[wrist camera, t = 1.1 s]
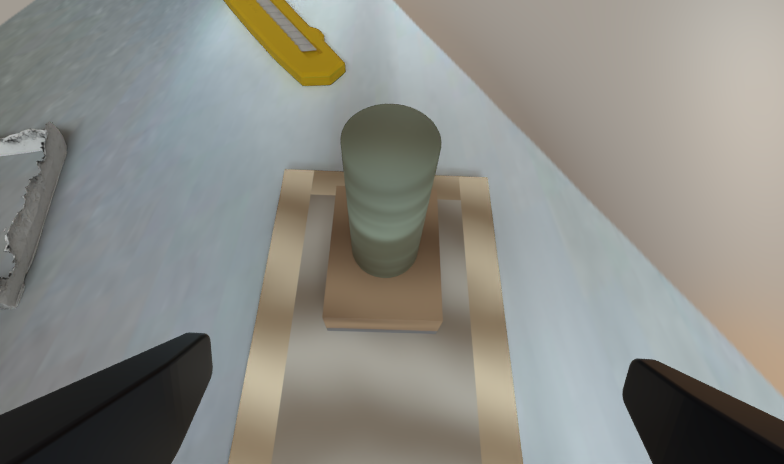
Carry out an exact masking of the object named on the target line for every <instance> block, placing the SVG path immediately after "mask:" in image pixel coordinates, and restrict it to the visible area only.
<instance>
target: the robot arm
mask: <svg viewBox="0 0 784 464" xmlns="http://www.w3.org/2000/svg"><path fill="white" fill-rule="evenodd" d="M212 369H213V366H212V354H211V342H210V338H209V336H208V335H207V334H205V333H185V334H183V335H181V336H179V337H176V338H174V339H172V340H170V341H167V342H165V343H163V344H160V345H158V346H156V347H154V348H151V349H149V350H147V351H145V352H142V353H140V354H138V355H136V356H133V357H131V358H129V359H126V360H124V361H122V362H120V363H117V364H115V365H113V366H111V367H108V368H106V369H104V370H102V371H99V372H97V373H95V374H92V375H90V376H88V377H86V378H83V379H81V380H79V381H77V382H74V383H72V384H70V385H67V386H65V387H63V388H61V389H58V390H56V391H54V392H52V393H49V394H47V395H45V396H43V397H40V398H38V399H36V400H33V401H31V402H29V403H27V404H24V405H22V406H20V407H18V408H15V409H13V410H11V411H9V412H6V413H4V414H2V415H0V464H171V463H172V461H173V459H174V458H175V456H176V454H177V452H178V450H179V448H180V446H181V444H182V442H183V440H184V438H185V436H186V433H187V431H188V429H189V427H190V424H191V422H192V420H193V417H194V415H195V413H196V411H197V408H198V406H199V404H200V402H201V399H202V397H203V395H204V392H205V390H206V388H207V386H208V383H209V381H210V379H211V375H212ZM623 400H624V403H625V406H626V408H627V410H628V412H629V414H630V416H631V419H632V421H633V423H634V425H635V427H636V429H637V431H638V433H639V436H640V438H641V440H642V442H643V444H644V446H645V448H646V451H647V453H648V455H649V457H650V459H651V461H652V463H653V464H784V421H782V420H780V419H778V418H776V417H774V416H772V415H770V414H768V413H766V412H764V411H761V410H759V409H757V408H755V407H753V406H751V405H749V404H747V403H745V402H743V401H740V400H738V399H736V398H734V397H732V396H730V395H728V394H726V393H724V392H722V391H720V390H717V389H715V388H713V387H711V386H709V385H707V384H705V383H703V382H701V381H699V380H696V379H694V378H692V377H690V376H688V375H686V374H684V373H682V372H680V371H678V370H675V369H673V368H671V367H669V366H667V365H665V364H663V363H661V362H659V361H656V360H652V359H634V360H633V361H632V362H631V364H630V366H629V370H628V373H627V377H626V380H625V384H624V387H623Z"/></svg>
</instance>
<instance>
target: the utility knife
mask: <svg viewBox="0 0 784 464" xmlns="http://www.w3.org/2000/svg"><path fill="white" fill-rule="evenodd" d="M224 1H225V3H226V4H227V5H228V6H229V8H230V9H231V10H232V11H233V13H234V14H235V15H236V16H237V17H238V19H239V20H240V21H241V22H242V23H243V25H244V26H245V27H246V28H247V29H248V30H249V32H250V33H251V34H252V35H253V36H254V37H255V38H256V39H257V41H258V42H259V43H260V44H261V45H262V46H263V47H264V48H265V49H266V50H267V52H268V53H269V54H270V55H271V56H272V57H273V58H274V59H275V60H276V61H277V62H278V63H279V64H280V65H281V66H282V67H283V68H284V69H285V70H286V71H287V72H288V73H290V74H291V75H292V76H293V77H294V78H295V79H296V80H297V81H298V82H299V83H300V84H301V85H302V86H314V85H331V84H332V83H333V82H335V81H336V80H337V79H338V78H339V77H340V76H341V75H342V74H344V73H345V63H344V62H343V61H342V60H341V58H340V57H339V56H338V55H337V54H336V53H335V52H334V51H333V50H332V49H331V48H330V47H329V46H328V45H327V43H326V42H325V41H324V35H323V34H322V32H321V31H320V30H319V29H316V28H313V27H310V26H309V25H308V24H307V23H306V22H305V21H304V20H303V19H302V18H301V17H300V16H299V15H298V14H297V13H296V12H295V11H294V10H293V9H292V8H291V6H290V5H289V4H288V3H287V2H286V1H285V0H224Z"/></svg>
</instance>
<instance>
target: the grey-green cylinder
mask: <svg viewBox="0 0 784 464" xmlns="http://www.w3.org/2000/svg"><path fill="white" fill-rule="evenodd" d="M440 150H441V137H440V133H439V131H438V129H437V127H436V126H435V124H434V123H433V122H432V121H431V120H430V119H429V118H428V117H427V116H426V115H424V114H423V113H421V112H420V111H418V110H416V109H413V108H411V107H408V106H404V105H399V104H380V105H374V106H371V107H368V108H365V109H363V110H361V111H359V112H358V113H356V114H355V115H353V116H352V117H351V118H350V119H349V120H348V122H347V123H346V124H345V126H344V128H343V130H342V133H341V151H342V161H343V170H344V179H345V186H336V195H335V205H334V214H333V223H332V232H331V241H330V251H329V260H328V269H327V278H326V287H325V297H324V306H323V315H322V318H323V320H324V323H325V326H326V328H327V331H354V332H387V333H420V334H436V333H437V331H438V329H439V327H440V325H441V324H442V322H443V313H442V291H441V268H440V246H439V224H438V202H437V190H433V189H432V186H433V182H434V177H435V173H436V168H437V164H438V159H439V155H440Z"/></svg>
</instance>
